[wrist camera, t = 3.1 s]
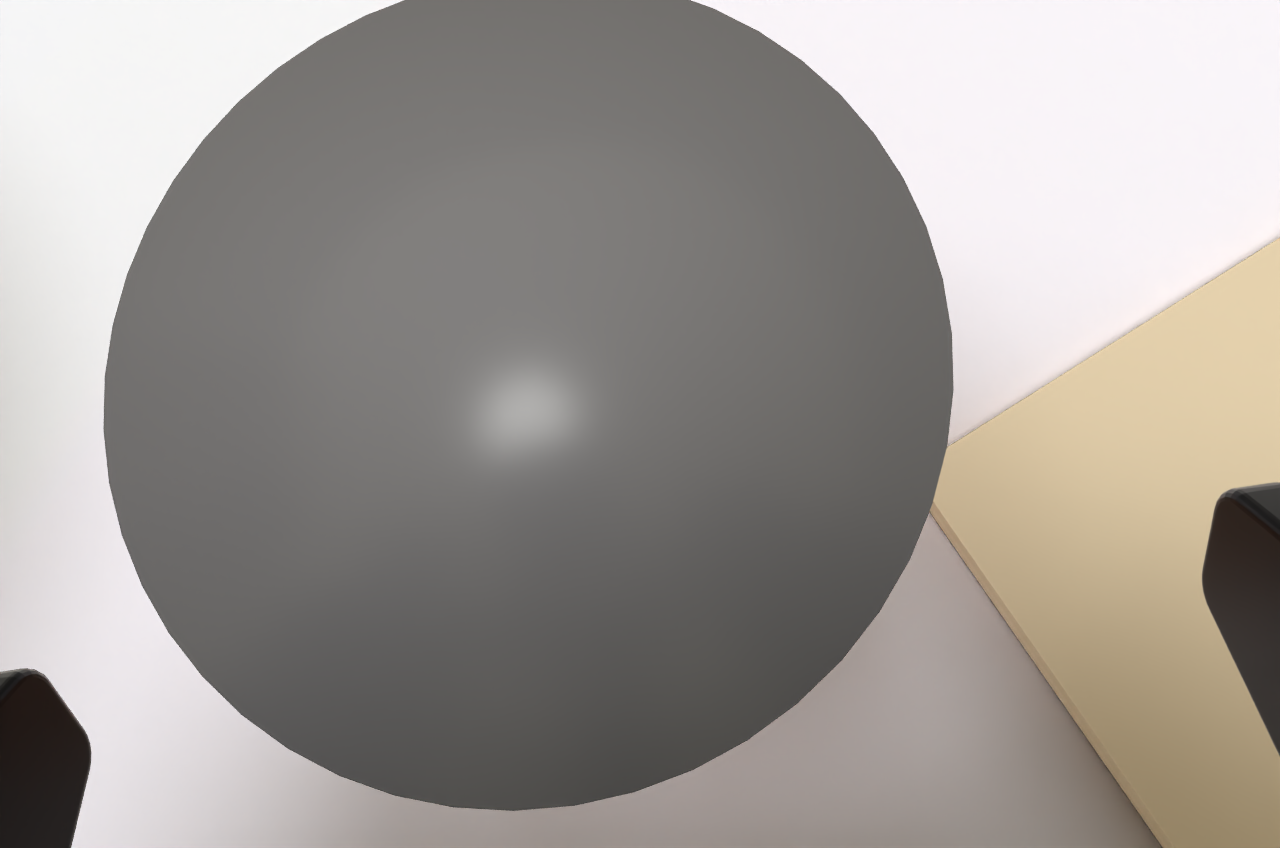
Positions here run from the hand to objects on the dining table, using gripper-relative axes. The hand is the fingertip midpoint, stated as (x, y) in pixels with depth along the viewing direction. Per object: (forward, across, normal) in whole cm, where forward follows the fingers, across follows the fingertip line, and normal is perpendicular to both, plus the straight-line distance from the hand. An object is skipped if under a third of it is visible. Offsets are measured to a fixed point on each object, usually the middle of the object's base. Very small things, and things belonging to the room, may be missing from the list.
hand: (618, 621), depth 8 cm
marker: (+7, 0, +6) cm, 9 cm away
